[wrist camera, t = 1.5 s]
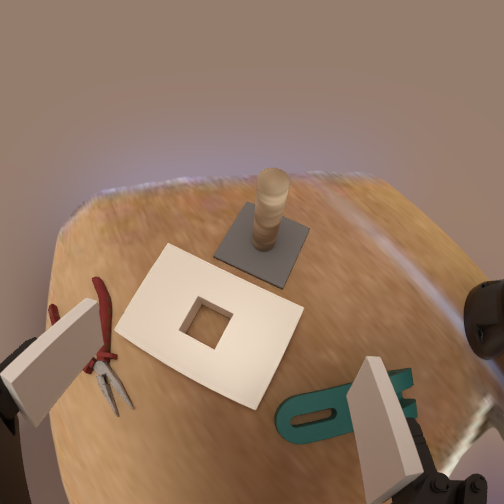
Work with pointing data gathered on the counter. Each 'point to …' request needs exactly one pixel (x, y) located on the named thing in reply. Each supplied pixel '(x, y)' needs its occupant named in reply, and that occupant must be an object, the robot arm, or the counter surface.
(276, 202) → the peg
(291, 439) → the bracket
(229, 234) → the mat
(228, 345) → the hole block
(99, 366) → the pliers
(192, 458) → the counter surface
